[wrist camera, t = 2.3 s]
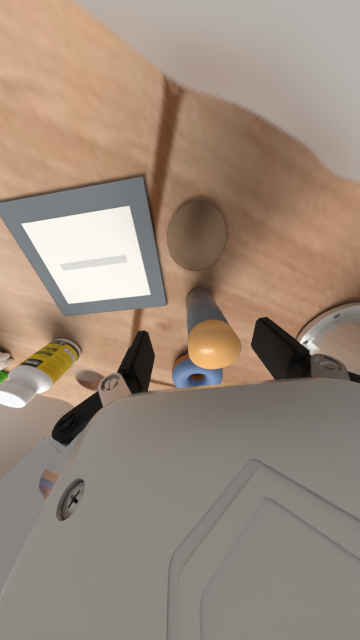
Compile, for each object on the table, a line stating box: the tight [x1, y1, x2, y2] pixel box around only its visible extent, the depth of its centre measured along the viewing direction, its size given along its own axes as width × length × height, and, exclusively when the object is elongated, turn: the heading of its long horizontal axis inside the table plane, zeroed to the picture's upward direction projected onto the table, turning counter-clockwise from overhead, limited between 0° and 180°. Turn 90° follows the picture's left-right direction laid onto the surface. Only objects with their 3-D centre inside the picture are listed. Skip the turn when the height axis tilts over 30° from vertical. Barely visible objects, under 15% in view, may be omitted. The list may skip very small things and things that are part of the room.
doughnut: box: [172, 354, 223, 388], centre depth 25 cm, size 10×10×5 cm
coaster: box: [167, 201, 226, 271], centre depth 15 cm, size 7×7×1 cm
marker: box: [186, 288, 241, 369], centre depth 15 cm, size 4×4×11 cm
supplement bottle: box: [0, 339, 81, 408], centre depth 21 cm, size 5×5×10 cm
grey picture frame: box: [0, 177, 167, 316], centre depth 17 cm, size 17×14×1 cm
